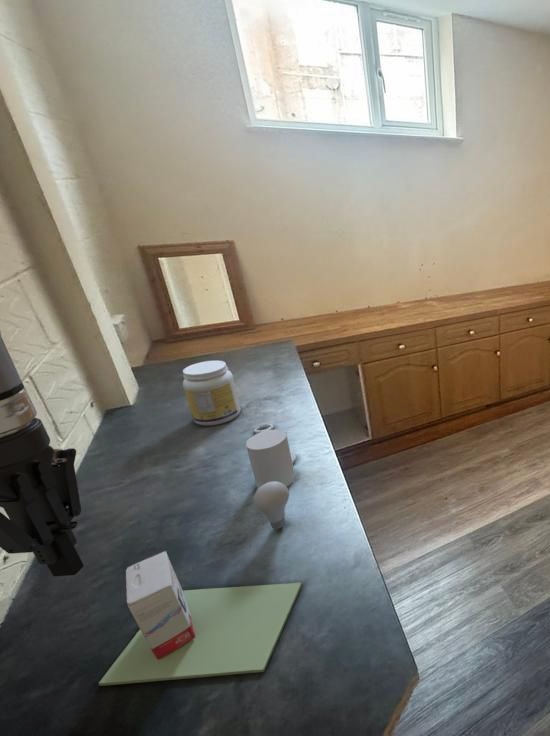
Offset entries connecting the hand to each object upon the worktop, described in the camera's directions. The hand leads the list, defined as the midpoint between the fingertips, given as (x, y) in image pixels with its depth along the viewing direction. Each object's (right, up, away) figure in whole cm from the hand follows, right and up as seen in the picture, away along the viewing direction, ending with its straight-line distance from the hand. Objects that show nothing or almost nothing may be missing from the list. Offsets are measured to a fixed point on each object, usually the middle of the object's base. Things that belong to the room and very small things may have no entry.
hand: (69, 571), depth 56 cm
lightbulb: (+14, -6, +26) cm, 31 cm away
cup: (+6, 0, +40) cm, 40 cm away
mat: (+15, -13, +7) cm, 21 cm away
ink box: (+9, -13, +6) cm, 17 cm away
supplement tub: (-28, +11, +66) cm, 73 cm away
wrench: (-3, +5, +53) cm, 53 cm away
